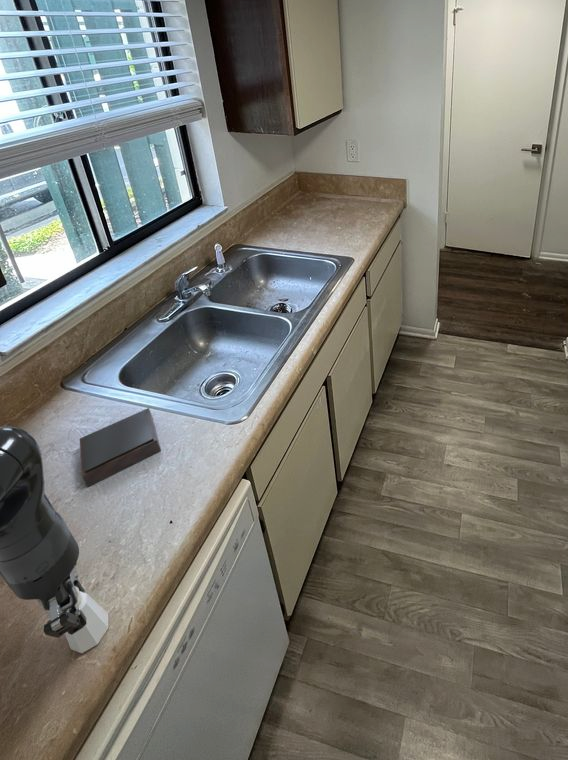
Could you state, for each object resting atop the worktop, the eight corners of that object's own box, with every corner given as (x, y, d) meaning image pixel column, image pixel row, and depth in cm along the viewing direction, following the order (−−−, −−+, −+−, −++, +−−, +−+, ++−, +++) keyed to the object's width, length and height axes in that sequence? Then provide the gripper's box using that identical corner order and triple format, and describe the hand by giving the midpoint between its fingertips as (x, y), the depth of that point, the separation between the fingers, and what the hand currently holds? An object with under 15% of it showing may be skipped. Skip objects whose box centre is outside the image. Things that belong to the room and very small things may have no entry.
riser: (87, 487, 91) (81, 475, 90) (84, 449, 99) (78, 437, 98) (161, 451, 99) (156, 439, 97) (152, 418, 107) (148, 406, 105)
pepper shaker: (62, 657, 67) (36, 622, 62) (80, 614, 72) (57, 578, 67) (100, 650, 68) (77, 615, 63) (116, 607, 73) (95, 572, 68)
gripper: (4, 523, 63) (47, 586, 71) (-4, 624, 53) (47, 684, 60) (67, 492, 67) (102, 554, 75) (71, 580, 57) (110, 642, 64)
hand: (77, 612), depth 67 cm, fingers closed on pepper shaker, 3 cm apart
